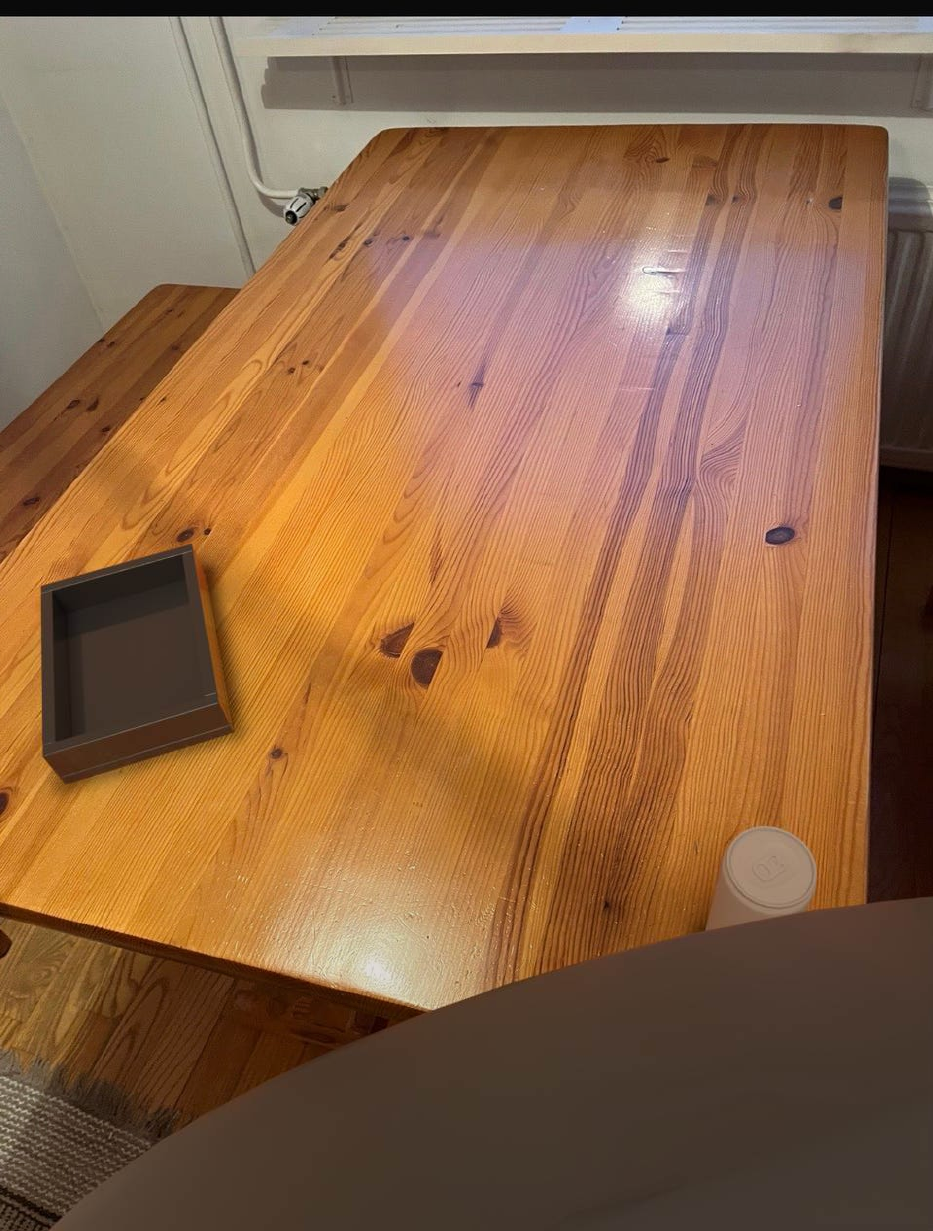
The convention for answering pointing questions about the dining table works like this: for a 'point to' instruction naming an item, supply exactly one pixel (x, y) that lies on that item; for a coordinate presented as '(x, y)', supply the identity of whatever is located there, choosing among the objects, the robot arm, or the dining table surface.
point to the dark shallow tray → (129, 665)
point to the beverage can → (762, 878)
